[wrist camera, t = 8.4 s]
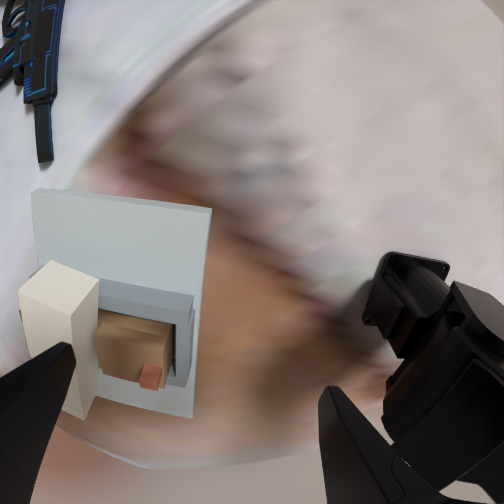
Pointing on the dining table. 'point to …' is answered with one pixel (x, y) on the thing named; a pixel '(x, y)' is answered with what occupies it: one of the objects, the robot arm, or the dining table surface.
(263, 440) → the dining table surface
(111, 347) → the brown box with tab
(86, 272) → the jig board
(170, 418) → the dining table surface
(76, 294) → the long cream prism
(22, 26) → the gun
